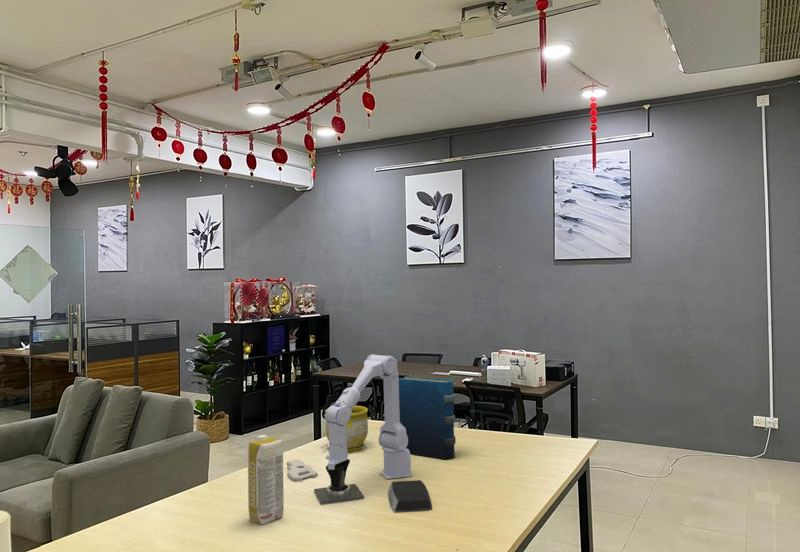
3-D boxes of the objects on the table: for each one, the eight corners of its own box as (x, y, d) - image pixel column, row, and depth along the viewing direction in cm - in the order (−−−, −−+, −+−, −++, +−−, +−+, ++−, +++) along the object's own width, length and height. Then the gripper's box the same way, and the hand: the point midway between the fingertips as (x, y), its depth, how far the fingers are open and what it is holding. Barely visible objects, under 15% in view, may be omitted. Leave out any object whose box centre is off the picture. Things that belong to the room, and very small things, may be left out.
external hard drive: (391, 514, 172) (391, 501, 172) (386, 492, 191) (386, 479, 191) (434, 512, 173) (434, 498, 173) (425, 489, 192) (425, 477, 192)
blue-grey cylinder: (334, 488, 190) (333, 468, 190) (346, 489, 189) (346, 469, 189) (328, 493, 186) (328, 472, 186) (341, 494, 185) (341, 473, 185)
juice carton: (270, 510, 175) (269, 431, 176) (287, 516, 170) (286, 435, 171) (244, 520, 168) (243, 437, 169) (261, 527, 163) (260, 441, 164)
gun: (277, 460, 215) (302, 456, 221) (277, 469, 215) (302, 465, 221) (295, 476, 200) (322, 471, 205) (295, 486, 200) (321, 481, 205)
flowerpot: (316, 450, 240) (316, 411, 240) (344, 440, 255) (344, 403, 255) (349, 457, 230) (349, 415, 230) (377, 446, 245) (376, 407, 245)
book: (460, 455, 230) (458, 379, 230) (450, 461, 222) (448, 382, 223) (408, 447, 242) (407, 375, 243) (397, 452, 235) (396, 378, 236)
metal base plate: (355, 486, 195) (355, 479, 195) (364, 498, 184) (364, 490, 184) (314, 491, 191) (313, 484, 191) (320, 504, 179) (320, 496, 179)
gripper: (333, 436, 196) (334, 477, 195) (318, 448, 181) (319, 492, 181) (353, 437, 194) (353, 478, 194) (339, 449, 180) (340, 493, 180)
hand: (338, 485), depth 187 cm, fingers closed on blue-grey cylinder, 4 cm apart
